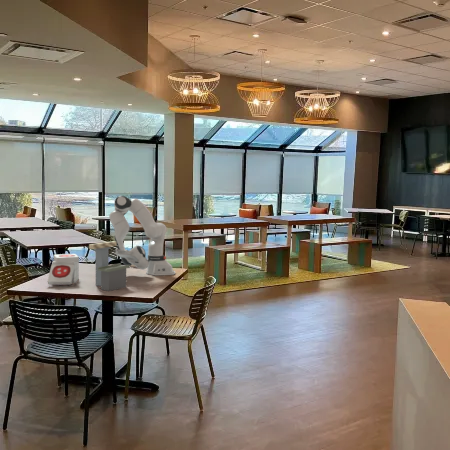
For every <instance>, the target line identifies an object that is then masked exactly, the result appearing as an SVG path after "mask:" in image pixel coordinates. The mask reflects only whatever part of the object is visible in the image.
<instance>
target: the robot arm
mask: <svg viewBox="0 0 450 450" xmlns="http://www.w3.org/2000/svg"><path fill="white" fill-rule="evenodd" d="M113 205H114V210H113V211H112V212H110V214H109V220H110V223H111V225H112V227H113V229H114V233H115V234H114V241H115V242H117V246H116V247H117V248H115V252H114V253H115V255H116V256H118V257H120V259H121V261H122V263H123V264H122V265H124V266H125V265H130V267H131V265H135V266H136V267H135V268H138V269H139V270H145V269H146V275H151V276H174V275H175V274H176V270H173V265H172V264H171V263H170V262H168V261H167V260H166V259H167V256H165V255H164V254H163V253H164V241H165V237H166V232H167V230H168V229H167V226H166V225H165V224H164V223H163V222H156V221H155V220H154V217H153V213H151V211H150V210H149V209H148V207H147V206H146V205H145V204H144V203H143V202H142V201H141V200H140V199H138V198H133V199H131V198H129V197H128V196H127V197H126V196H125V195H119V196H117V197H115V199H114V204H113ZM128 212H131V213H132V214H133V216H134V217H135V218H136V220H137V221H138V222H139V223H140V225H141V226H142V228H143V231H144V234H145V236H146V237H147V238H149V239H150V241H149V243H148V255H147V258H146V254H147V253H146V250H145V249H144V247H143V246H141V245H136V246H133V247H132V248H131V249H129V250H128V249H126V248H125V244H124V240H125V238H126V236H127V235H128V234H129V232H130V224H129V222H128V220H127V219H126V218H125V215H126V214H127V213H128Z"/></svg>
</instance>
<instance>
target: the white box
mask: <svg viewBox="0 0 450 450" xmlns="http://www.w3.org/2000/svg"><path fill="white" fill-rule="evenodd" d="M79 258H80V257H79V256H78V254H76V253H62V254H61V253H60V254H53V261H52V262H51V263H52V264H51V266H50V270H49V274H48V277H47V284H48V286H50V285H52V286H53V285H58V286H59V285H61V286H62V285H66V286H68V285H69V286H70V285H72V284H76V282H77V281H78V280H79V278H80V272H79V271H80V268H79V267H80V265H79V264H80V261H79V260H80V259H79Z"/></svg>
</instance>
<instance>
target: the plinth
mask: <svg viewBox="0 0 450 450" xmlns="http://www.w3.org/2000/svg"><path fill="white" fill-rule="evenodd" d="M111 248H112V247H105V248H98V249H95V286H97V287H98V286H99V287H101V271H98V267H103V266H108V265H109V250H111Z"/></svg>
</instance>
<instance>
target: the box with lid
mask: <svg viewBox="0 0 450 450" xmlns="http://www.w3.org/2000/svg"><path fill="white" fill-rule="evenodd" d="M130 268H131V266H130V265H124V264H122V263H114V264H108V266H103V267H98V271H101V286H100V290H101V291H106V292H111V291H115V290H119V289H124V288H127V269H130Z"/></svg>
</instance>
